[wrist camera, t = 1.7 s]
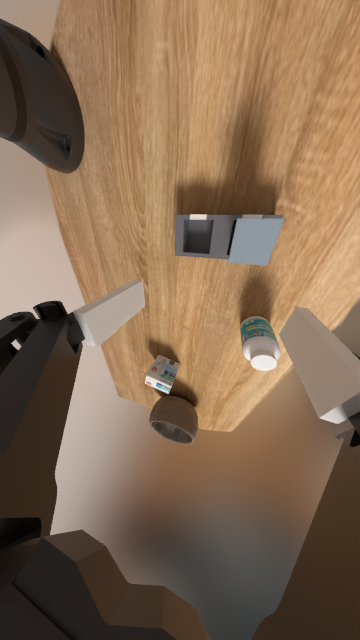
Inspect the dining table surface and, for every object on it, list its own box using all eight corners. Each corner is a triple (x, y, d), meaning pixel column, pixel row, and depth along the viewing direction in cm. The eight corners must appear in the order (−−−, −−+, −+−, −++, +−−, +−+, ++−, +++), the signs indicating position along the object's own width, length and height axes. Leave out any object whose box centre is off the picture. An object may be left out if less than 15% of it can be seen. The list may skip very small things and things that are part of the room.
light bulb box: (180, 363, 57) (172, 386, 48) (177, 371, 61) (168, 394, 52) (158, 353, 58) (145, 374, 49) (156, 362, 62) (144, 383, 53)
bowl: (192, 417, 82) (185, 449, 70) (156, 400, 84) (144, 428, 72) (208, 402, 67) (203, 439, 55) (164, 382, 69) (150, 413, 57)
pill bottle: (272, 315, 35) (292, 353, 24) (266, 337, 39) (280, 378, 28) (241, 313, 37) (246, 347, 26) (238, 334, 41) (241, 371, 30)
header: (182, 216, 29) (174, 214, 25) (274, 217, 25) (284, 214, 21) (181, 252, 33) (174, 255, 29) (261, 257, 29) (266, 262, 25)
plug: (234, 223, 27) (237, 218, 16) (262, 223, 25) (284, 218, 15) (228, 251, 29) (228, 262, 19) (253, 252, 28) (267, 265, 18)
